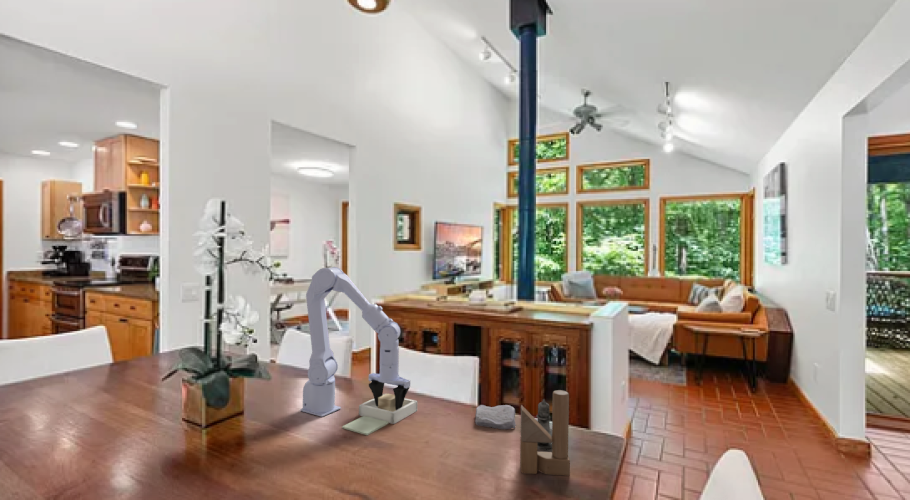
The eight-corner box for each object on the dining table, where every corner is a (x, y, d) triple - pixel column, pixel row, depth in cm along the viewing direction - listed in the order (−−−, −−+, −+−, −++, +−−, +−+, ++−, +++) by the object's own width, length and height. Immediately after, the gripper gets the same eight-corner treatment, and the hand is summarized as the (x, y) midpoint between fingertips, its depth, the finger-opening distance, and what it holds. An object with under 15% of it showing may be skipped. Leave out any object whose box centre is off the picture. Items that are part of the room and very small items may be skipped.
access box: (358, 415, 127) (359, 405, 127) (384, 402, 137) (384, 393, 137) (393, 424, 120) (393, 413, 121) (417, 410, 131) (417, 401, 131)
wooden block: (519, 465, 98) (520, 388, 98) (567, 468, 97) (568, 389, 97) (521, 474, 94) (522, 393, 94) (570, 476, 93) (571, 395, 93)
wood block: (378, 414, 128) (378, 397, 128) (387, 409, 132) (387, 393, 132) (389, 417, 126) (390, 400, 126) (398, 412, 130) (399, 396, 130)
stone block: (517, 436, 118) (515, 416, 128) (516, 421, 117) (514, 401, 127) (474, 436, 119) (475, 415, 129) (473, 420, 118) (475, 401, 128)
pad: (342, 428, 117) (342, 426, 117) (364, 417, 125) (364, 415, 125) (367, 435, 113) (367, 433, 113) (388, 423, 121) (388, 421, 121)
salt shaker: (541, 452, 104) (542, 404, 104) (527, 443, 110) (527, 396, 110) (559, 448, 107) (560, 400, 107) (544, 438, 112) (545, 393, 112)
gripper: (416, 363, 129) (415, 407, 129) (379, 357, 136) (378, 399, 136) (402, 368, 123) (402, 415, 123) (364, 361, 130) (363, 406, 130)
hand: (388, 407), depth 129 cm, fingers open, 7 cm apart
